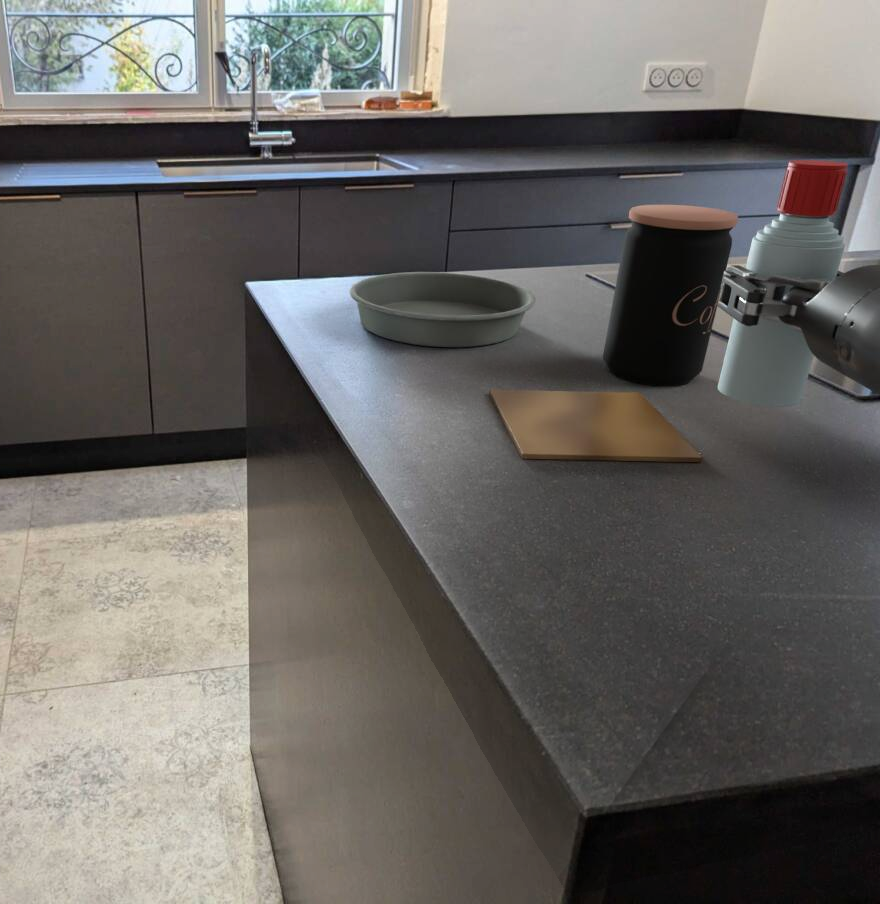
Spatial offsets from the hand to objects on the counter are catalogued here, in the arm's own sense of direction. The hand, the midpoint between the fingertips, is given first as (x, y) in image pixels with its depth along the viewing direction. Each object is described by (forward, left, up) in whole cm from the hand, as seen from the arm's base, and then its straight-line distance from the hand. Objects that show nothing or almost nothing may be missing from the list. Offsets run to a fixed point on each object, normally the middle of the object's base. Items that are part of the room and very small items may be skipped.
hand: (772, 277), depth 69 cm
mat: (+11, -5, -16) cm, 20 cm away
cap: (0, +2, +6) cm, 6 cm away
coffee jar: (-1, -21, -16) cm, 27 cm away
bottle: (0, +2, -9) cm, 10 cm away
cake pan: (+21, -39, -16) cm, 48 cm away
